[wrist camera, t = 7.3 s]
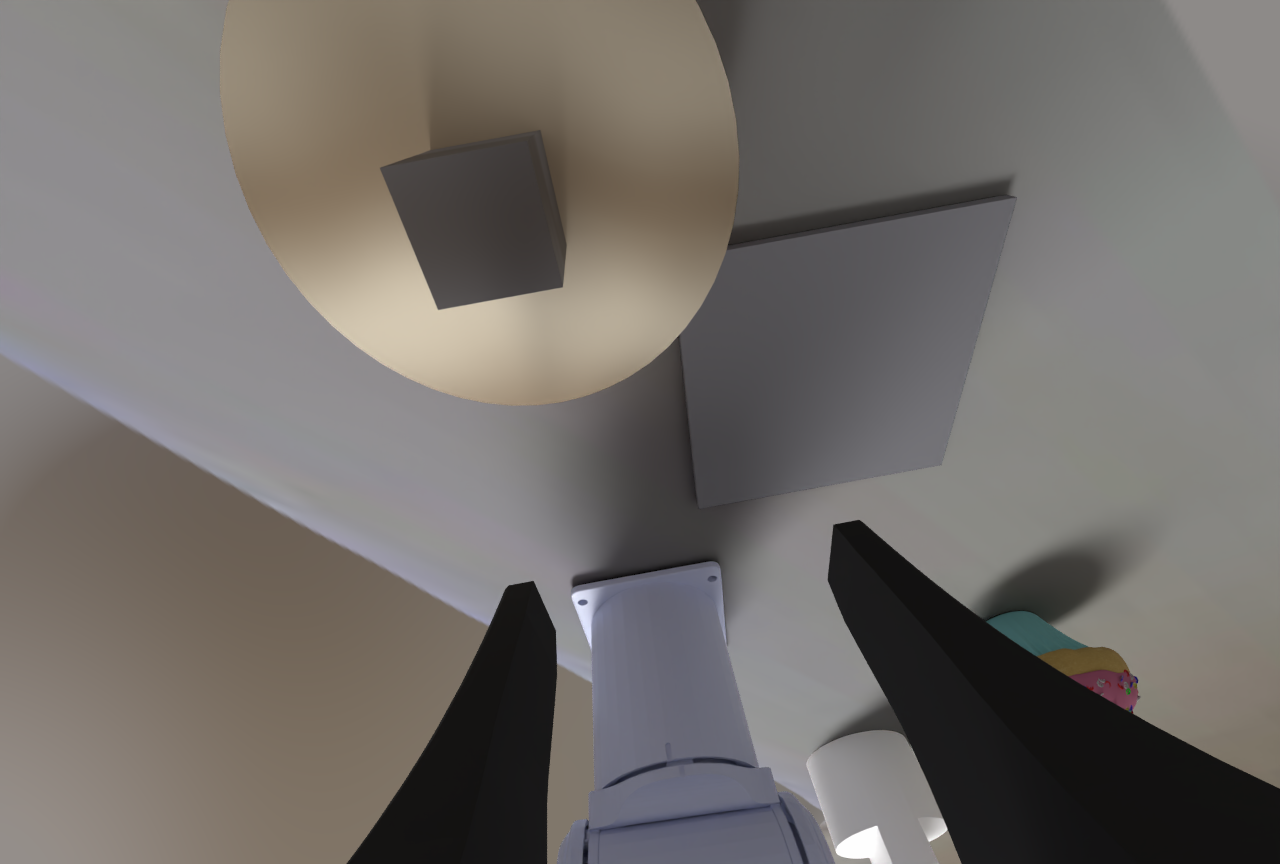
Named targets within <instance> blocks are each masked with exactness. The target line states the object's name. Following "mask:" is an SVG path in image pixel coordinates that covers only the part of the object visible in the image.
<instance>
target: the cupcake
mask: <svg viewBox="0 0 1280 864" xmlns="http://www.w3.org/2000/svg"><path fill="white" fill-rule="evenodd" d="M986 622H987V623H988V624H990V625H991V626H993V627H994V628H995V629H997V630H998V631H1000V632H1001V633H1002V634H1004V635H1005V636H1007V637H1008V638H1010V639H1011V640H1013V641H1014V642H1016V643H1017V644H1019V645H1020V646H1021V647H1023V648H1025V649H1026V650H1028V651H1029V652H1031V653H1032V654H1034V655H1035V656H1037V657H1038V658H1040V659H1041V660H1043V661H1045V662H1046V663H1048V664H1049V665H1051V666H1052V667H1054V668H1056V669H1057V670H1059V671H1060V672H1062V673H1064V674H1065V675H1067V676H1069V677H1070V678H1072V679H1073V680H1075V681H1077V682H1078V683H1080V684H1082V685H1083V686H1085V687H1087V688H1088V689H1090V690H1092V691H1094V692H1095V693H1097V694H1099V695H1101V696H1102V697H1104V698H1106V699H1108V700H1109V701H1111V702H1113V703H1115V704H1117V705H1118V706H1120V707H1122V708H1124V709H1125V710H1127V711H1129V712H1131V713H1132V714H1133V711H1132V710H1133V709H1134V707H1135V705H1136V703H1137V701H1138V700H1139V699H1140V696H1138V690H1137V683H1138V679H1137V677H1135V676H1133V675H1132V674H1131V673H1130V671H1129V669H1128V667H1127V665H1126V663H1125V661H1124V660H1123V659H1122V657H1121V656H1120V655H1119V654H1118V653H1117V652H1115V651H1114V650H1112V649H1109V648H1105V647H1098V648H1093V647H1088V646H1086V645H1083V644H1081V643H1079V642H1077V641H1075V640H1073V639H1071V638H1070V637H1068V636H1066V635H1065V634H1063V633H1061V632H1060V631H1058V630H1057V629H1055V628H1054V627H1052V626H1051V625H1050V624H1048V623H1047V622H1045V621H1044V620H1042V619H1041V618H1040V617H1038V616H1037V615H1035V614H1033V613H1031V612H1027V611H1015V612H1009V613H1005V614H1001V615H998V616H996V617H994V618H991V619H989V620H987V621H986ZM1135 678H1136V679H1135Z"/></svg>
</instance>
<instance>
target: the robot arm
mask: <svg viewBox="0 0 1280 864" xmlns="http://www.w3.org/2000/svg"><path fill="white" fill-rule="evenodd" d="M828 582H829V584H830V587H831V589H832V592H833V594H834V597H835V599H836V602H837V604H838V607H839V609H840V611H841V614H842V616H843V618H844V621H845V623H846V625H847V627H848V628H849V630H850V632H851V634H852V636H853V638H854V639H855V641H856V643H857V645H858V647H859V649H860V650H861V652H862V654H863V656H864V658H865V660H866V661H867V663H868V665H869V667H870V669H871V670H872V672H873V674H874V676H875V678H876V679H877V681H878V683H879V685H880V687H881V688H882V690H883V692H884V694H885V696H886V697H887V699H888V701H889V703H890V705H891V706H892V708H893V710H894V712H895V714H896V716H897V718H898V719H899V721H900V723H901V725H902V727H903V729H904V731H905V733H906V735H907V737H908V739H909V742H910V744H911V746H912V748H913V751H914V753H915V755H916V757H917V760H918V762H919V764H920V766H921V769H922V771H923V773H924V775H925V778H926V780H927V782H928V784H929V787H930V789H931V791H932V794H933V796H934V798H935V801H936V803H937V805H938V808H939V810H940V812H941V815H942V817H943V819H944V822H945V824H946V827H947V829H948V831H949V834H950V836H951V838H952V841H953V843H954V846H955V848H956V851H957V853H958V856H959V858H960V861H961V863H962V864H1280V789H1279V788H1277V787H1275V786H1273V785H1271V784H1269V783H1267V782H1264V781H1262V780H1260V779H1258V778H1256V777H1254V776H1252V775H1250V774H1248V773H1246V772H1244V771H1242V770H1239V769H1237V768H1235V767H1233V766H1231V765H1229V764H1227V763H1225V762H1223V761H1221V760H1219V759H1217V758H1215V757H1213V756H1211V755H1209V754H1207V753H1205V752H1203V751H1201V750H1199V749H1197V748H1196V747H1194V746H1192V745H1190V744H1188V743H1186V742H1184V741H1182V740H1180V739H1178V738H1176V737H1174V736H1172V735H1171V734H1169V733H1167V732H1165V731H1163V730H1161V729H1159V728H1157V727H1155V726H1154V725H1152V724H1150V723H1148V722H1146V721H1145V720H1143V719H1141V718H1139V717H1138V716H1136V715H1134V714H1132V713H1131V712H1129V711H1127V710H1125V709H1124V708H1122V707H1120V706H1118V705H1117V704H1115V703H1113V702H1111V701H1109V700H1108V699H1106V698H1104V697H1102V696H1101V695H1099V694H1097V693H1095V692H1094V691H1092V690H1090V689H1088V688H1087V687H1085V686H1083V685H1082V684H1080V683H1078V682H1077V681H1075V680H1073V679H1072V678H1070V677H1069V676H1067V675H1065V674H1064V673H1062V672H1060V671H1059V670H1057V669H1056V668H1054V667H1052V666H1051V665H1049V664H1048V663H1046V662H1045V661H1043V660H1041V659H1040V658H1038V657H1037V656H1035V655H1034V654H1032V653H1031V652H1029V651H1028V650H1026V649H1025V648H1023V647H1021V646H1020V645H1019V644H1017V643H1016V642H1014V641H1013V640H1011V639H1010V638H1008V637H1007V636H1005V635H1004V634H1002V633H1001V632H1000V631H998V630H997V629H995V628H994V627H993V626H991V625H990V624H988V623H987V622H986V621H984V620H983V619H981V618H980V617H979V616H977V615H976V614H975V613H973V612H972V611H970V610H969V609H968V608H966V607H965V606H964V605H963V604H961V603H960V602H959V601H957V600H956V599H955V598H953V597H952V596H951V595H949V594H948V593H947V592H946V591H944V590H943V589H942V588H941V587H939V586H938V585H937V584H936V583H934V582H933V581H932V580H930V579H929V578H928V577H927V576H925V575H924V574H923V573H922V572H920V571H919V570H918V569H917V568H916V567H914V566H913V565H912V564H911V563H910V562H908V561H907V560H906V559H905V558H904V557H902V556H901V555H900V554H899V553H898V552H897V551H895V550H894V549H893V548H892V547H891V546H889V545H888V544H887V543H886V542H885V541H884V540H883V539H881V538H880V537H879V536H878V535H877V534H876V533H874V532H873V531H872V530H871V529H870V528H869V527H868V526H866V525H865V524H864V523H863V522H861V521H860V520H856V521H851V522H845V523H840V524H835V525H833V535H832V544H831V553H830V563H829V572H828ZM571 598H572V601H573V603H574V606H575V608H576V611H577V614H578V616H579V619H580V622H581V624H582V627H583V630H584V632H585V635H586V637H587V640H588V643H589V645H590V648H591V651H592V689H593V691H592V692H593V735H594V737H593V738H594V784H595V785H594V786H595V791H591V792H590V793H589V821H588V820H587V819H584V820H577V821H575V822H574V823H573V824H572V826H571V829H570V832H569V833H568V834H567V835H566V837H565V838H564V840H563V841H562V843H561V845H560V849H559V853H558V859H557V864H835V862H834V860H833V857H832V854H831V852H830V849H829V847H828V844H827V842H826V840H825V837H824V835H823V833H822V831H821V829H820V827H819V825H818V823H817V822H816V820H815V818H814V817H813V815H812V814H811V813H810V812H809V810H808V809H806V808H805V807H804V806H803V805H802V804H801V803H800V802H799V801H798V799H797V798H796V797H795V796H794V795H793V794H791V793H790V792H787V791H783V792H777V790H776V786H775V783H774V779H773V775H772V772H771V769H770V768H769V767H764V768H759V765H758V762H757V758H756V754H755V750H754V747H753V743H752V739H751V736H750V732H749V728H748V724H747V721H746V717H745V713H744V709H743V706H742V702H741V698H740V694H739V691H738V687H737V683H736V679H735V676H734V672H733V668H732V665H731V661H730V657H729V653H728V650H727V642H726V630H725V617H724V604H723V591H722V579H721V569H720V566H719V564H718V563H717V562H714V561H709V562H704V563H698V564H693V565H687V566H682V567H676V568H671V569H665V570H660V571H654V572H649V573H643V574H638V575H632V576H627V577H621V578H616V579H610V580H605V581H599V582H594V583H588V584H583V585H578V586H575V587H574V588H573V589H572V590H571ZM556 679H557V653H556V630H555V628H554V626H553V623H552V621H551V619H550V617H549V614H548V612H547V610H546V608H545V606H544V603H543V601H542V599H541V597H540V594H539V592H538V590H537V588H536V585H535V583H534V581H531V582H525V583H520V584H515V585H509V586H508V587H507V588H506V589H505V591H504V594H503V596H502V598H501V601H500V603H499V605H498V608H497V610H496V612H495V615H494V617H493V619H492V621H491V624H490V626H489V628H488V630H487V632H486V635H485V637H484V639H483V641H482V643H481V645H480V647H479V650H478V651H477V654H476V656H475V658H474V660H473V662H472V664H471V666H470V668H469V670H468V672H467V674H466V676H465V678H464V680H463V682H462V684H461V686H460V688H459V689H458V691H457V693H456V695H455V697H454V698H453V700H452V702H451V704H450V706H449V708H448V710H447V711H446V713H445V715H444V717H443V718H442V720H441V722H440V724H439V726H438V728H437V729H436V731H435V733H434V734H433V736H432V738H431V740H430V741H429V743H428V745H427V746H426V748H425V750H424V751H423V753H422V754H421V756H420V758H419V759H418V761H417V763H416V764H415V766H414V767H413V769H412V771H411V772H410V773H409V775H408V777H407V778H406V780H405V781H404V783H403V784H402V786H401V787H400V789H399V790H398V792H397V793H396V795H395V796H394V798H393V799H392V801H391V802H390V804H389V805H388V807H387V808H386V810H385V811H384V813H383V814H382V816H381V817H380V818H379V820H378V821H377V823H376V824H375V826H374V827H373V829H372V830H371V831H370V833H369V834H368V836H367V837H366V838H365V840H364V841H363V843H362V844H361V845H360V847H359V848H358V849H357V851H356V852H355V853H354V855H353V856H352V857H351V859H350V860H349V861H348V863H347V864H547V793H548V775H549V764H550V751H551V741H552V729H553V718H554V706H555V693H556V692H555V691H556Z"/></svg>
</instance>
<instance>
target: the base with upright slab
mask: <svg viewBox="0 0 1280 864" xmlns="http://www.w3.org/2000/svg"><path fill="white" fill-rule="evenodd" d="M806 765H807V768H808V771H809V774H810V777H811V779H812V782H813V785H814V788H815V791H816V794H817V797H818V800H819V803H820V806H821V809H822V812H823V815H824V818H825V821H826V824H827V827H828V829H829V832H830V835H831V838H832V841H833V844H834V847H835V850H836V853H837V854H838V855H840V856H842V857H846V858H870V860H871V863H872V864H939V863H938V861H937V858H936V856H935V854H934V852H933V850H932V848H931V846H930V844H929V842H930V841H932V840H934V839H936V838H937V837H939V836H940V835H942V834H943V833H945V831H946V830H947V827H946V824H945V822H944V819H943V817H942V815H941V812H940V810H939V808H938V805H937V803H936V801H935V798H934V796H933V794H932V791H931V789H930V787H929V784H928V782H927V780H926V778H925V775H924V773H923V771H922V769H921V767H920V765H919V763H918V761H917V759H916V757H915V755H914V753H913V751H912V749H911V747H910V745H909V744H908V742H907V740H906V738H905V737H904V736H903V735H902V734H900V733H898V732H895V731H888V730H872V731H865V732H859V733H855V734H851V735H847V736H844V737H841V738H839V739H836V740H834V741H831V742H829V743H827V744H826V745H824V746H822V747H820V748H819V749H818V750H816V751H815V752H814V753H813V754H812V755H811V756H810V757H809V758H808V761H807V764H806Z"/></svg>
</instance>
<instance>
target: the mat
mask: <svg viewBox="0 0 1280 864" xmlns="http://www.w3.org/2000/svg"><path fill="white" fill-rule="evenodd" d="M1016 199H1017V197H1013V196H1009V195H1003V196H997V197H992V198H986V199H981V200H975V201H970V202H964V203H959V204H953V205H948V206H942V207H937V208H932V209H926V210H921V211H915V212H910V213H904V214H899V215H893V216H888V217H882V218H877V219H871V220H866V221H860V222H855V223H849V224H844V225H838V226H833V227H827V228H822V229H817V230H811V231H806V232H800V233H795V234H789V235H784V236H778V237H773V238H767V239H762V240H756V241H751V242H745V243H740V244H734V245H729V246H727V250H726V254H725V256H724V259H723V261H722V264H721V266H720V269H719V271H718V274H717V276H716V279H715V281H714V283H713V285H712V287H711V289H710V291H709V292H708V294H707V296H706V298H705V300H704V302H703V303H702V305H701V307H700V308H699V310H698V311H697V313H696V314H695V315H694V317H693V318H692V320H691V321H690V322H689V324H688V325H687V327H686V328H685V329H684V330H683V331H682V332H681V333H680V335H679V344H680V353H681V362H682V371H683V380H684V389H685V399H686V408H687V417H688V426H689V435H690V444H691V453H692V462H693V472H694V481H695V490H696V499H697V504H698V508H699V509H702V508H708V507H713V506H719V505H724V504H730V503H735V502H741V501H746V500H752V499H757V498H763V497H768V496H774V495H779V494H785V493H790V492H796V491H801V490H807V489H812V488H818V487H823V486H829V485H834V484H840V483H845V482H851V481H856V480H862V479H867V478H873V477H878V476H884V475H889V474H895V473H900V472H906V471H911V470H917V469H922V468H928V467H933V466H939V465H942V462H943V458H944V454H945V451H946V447H947V444H948V440H949V437H950V433H951V430H952V426H953V423H954V419H955V415H956V412H957V408H958V405H959V401H960V398H961V394H962V391H963V387H964V384H965V380H966V376H967V373H968V369H969V366H970V362H971V359H972V355H973V352H974V348H975V345H976V341H977V338H978V334H979V330H980V327H981V323H982V320H983V316H984V313H985V309H986V306H987V302H988V299H989V295H990V291H991V288H992V284H993V281H994V277H995V274H996V270H997V267H998V263H999V260H1000V256H1001V252H1002V249H1003V245H1004V242H1005V238H1006V235H1007V231H1008V228H1009V224H1010V221H1011V217H1012V213H1013V210H1014V206H1015V203H1016Z"/></svg>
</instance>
